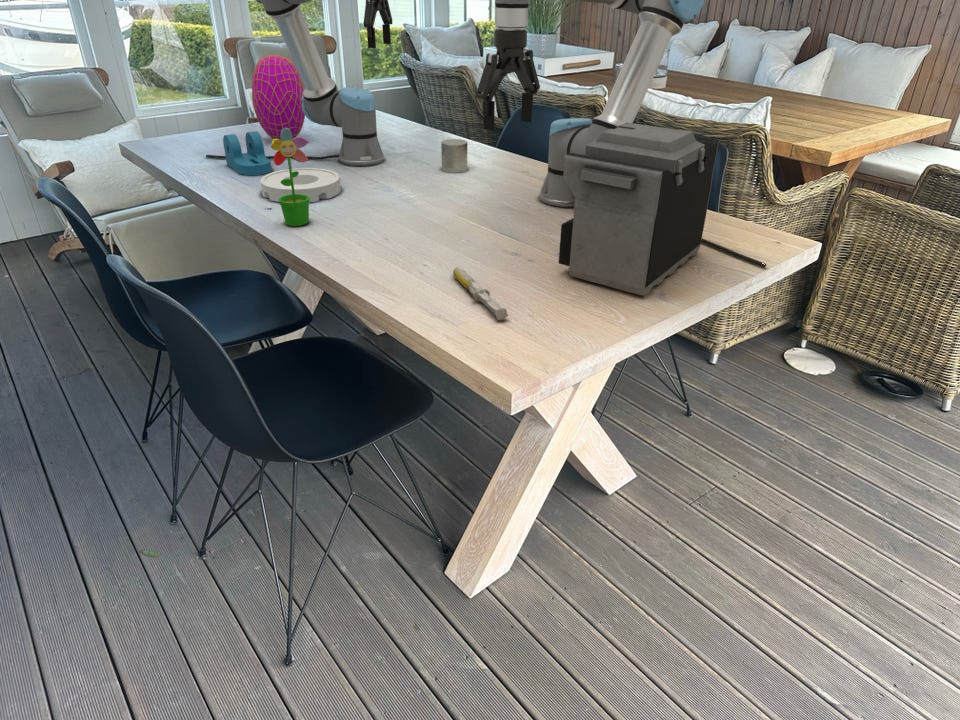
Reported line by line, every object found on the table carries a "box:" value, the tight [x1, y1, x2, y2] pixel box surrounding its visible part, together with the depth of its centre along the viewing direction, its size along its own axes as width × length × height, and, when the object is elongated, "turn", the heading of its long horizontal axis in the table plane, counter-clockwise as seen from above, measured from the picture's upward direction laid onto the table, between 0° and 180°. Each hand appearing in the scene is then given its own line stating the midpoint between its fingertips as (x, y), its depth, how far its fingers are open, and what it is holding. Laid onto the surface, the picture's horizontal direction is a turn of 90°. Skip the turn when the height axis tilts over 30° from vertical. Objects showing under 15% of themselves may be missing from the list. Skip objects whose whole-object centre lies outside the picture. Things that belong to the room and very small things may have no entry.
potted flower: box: [270, 128, 310, 227], centre depth 177 cm, size 9×8×25 cm
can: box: [440, 138, 468, 174], centre depth 229 cm, size 9×9×9 cm
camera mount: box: [222, 131, 272, 176], centre depth 226 cm, size 18×10×10 cm, turn 35°
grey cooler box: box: [558, 122, 720, 297], centre depth 154 cm, size 37×22×30 cm, turn 144°
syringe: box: [452, 266, 509, 321], centre depth 145 cm, size 25×4×3 cm, turn 21°
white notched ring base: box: [260, 167, 342, 203], centre depth 207 cm, size 23×23×4 cm
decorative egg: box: [251, 54, 306, 141], centre depth 257 cm, size 19×19×30 cm
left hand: (379, 46), depth 251 cm, fingers open, 13 cm apart
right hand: (507, 125), depth 166 cm, fingers open, 13 cm apart
